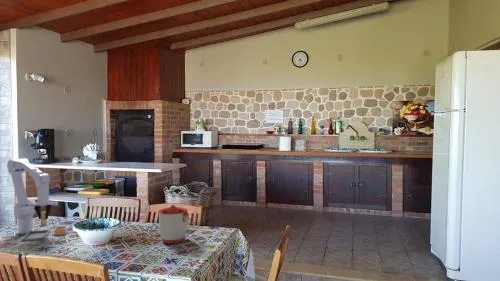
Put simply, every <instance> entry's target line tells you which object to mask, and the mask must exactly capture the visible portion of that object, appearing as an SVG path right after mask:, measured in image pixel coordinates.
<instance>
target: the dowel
mask: <svg viewBox="0 0 500 281" xmlns="http://www.w3.org/2000/svg"><path fill="white" fill-rule="evenodd" d="M40 215H41V219H40V227H41V228H44V227H47V225H48V224H47V223H48V220H47V219H46V211H41V212H40Z"/></svg>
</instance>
